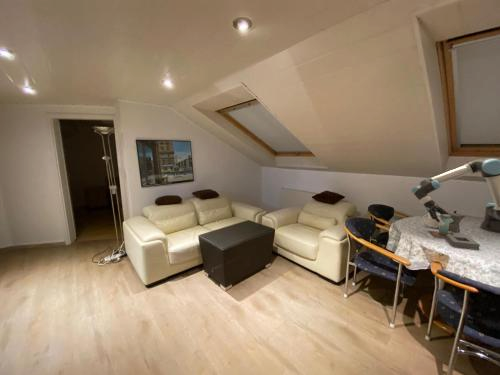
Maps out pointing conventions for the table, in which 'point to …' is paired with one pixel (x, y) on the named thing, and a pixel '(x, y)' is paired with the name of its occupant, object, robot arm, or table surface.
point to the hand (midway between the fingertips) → (447, 223)
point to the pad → (436, 234)
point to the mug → (432, 221)
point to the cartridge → (444, 229)
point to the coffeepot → (455, 222)
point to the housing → (462, 242)
